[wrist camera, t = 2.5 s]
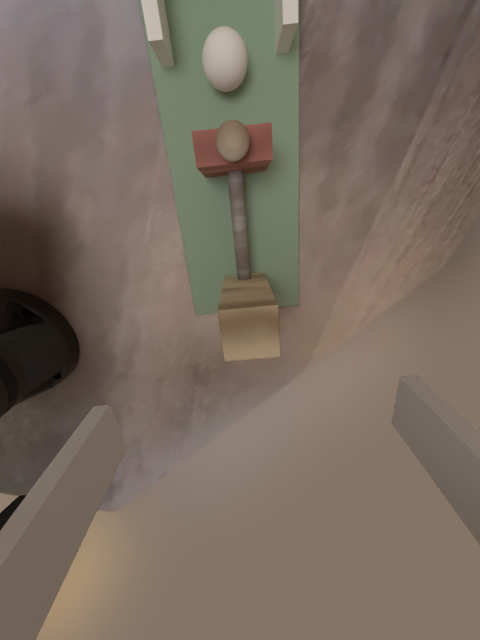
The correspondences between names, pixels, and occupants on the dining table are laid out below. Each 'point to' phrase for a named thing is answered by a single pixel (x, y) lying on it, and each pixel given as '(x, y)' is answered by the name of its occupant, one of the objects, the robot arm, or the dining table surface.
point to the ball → (224, 59)
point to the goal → (161, 37)
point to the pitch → (210, 113)
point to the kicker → (241, 239)
